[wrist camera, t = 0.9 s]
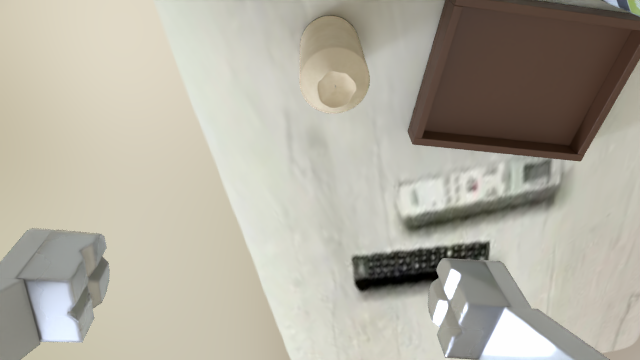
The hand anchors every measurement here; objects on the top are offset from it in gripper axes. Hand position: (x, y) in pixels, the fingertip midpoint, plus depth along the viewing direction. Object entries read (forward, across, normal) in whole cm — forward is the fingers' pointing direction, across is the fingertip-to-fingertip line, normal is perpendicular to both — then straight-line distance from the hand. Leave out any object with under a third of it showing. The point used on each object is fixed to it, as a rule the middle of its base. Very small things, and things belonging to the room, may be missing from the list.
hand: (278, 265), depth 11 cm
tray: (+33, -23, +3) cm, 41 cm away
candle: (+34, -4, +2) cm, 34 cm away
